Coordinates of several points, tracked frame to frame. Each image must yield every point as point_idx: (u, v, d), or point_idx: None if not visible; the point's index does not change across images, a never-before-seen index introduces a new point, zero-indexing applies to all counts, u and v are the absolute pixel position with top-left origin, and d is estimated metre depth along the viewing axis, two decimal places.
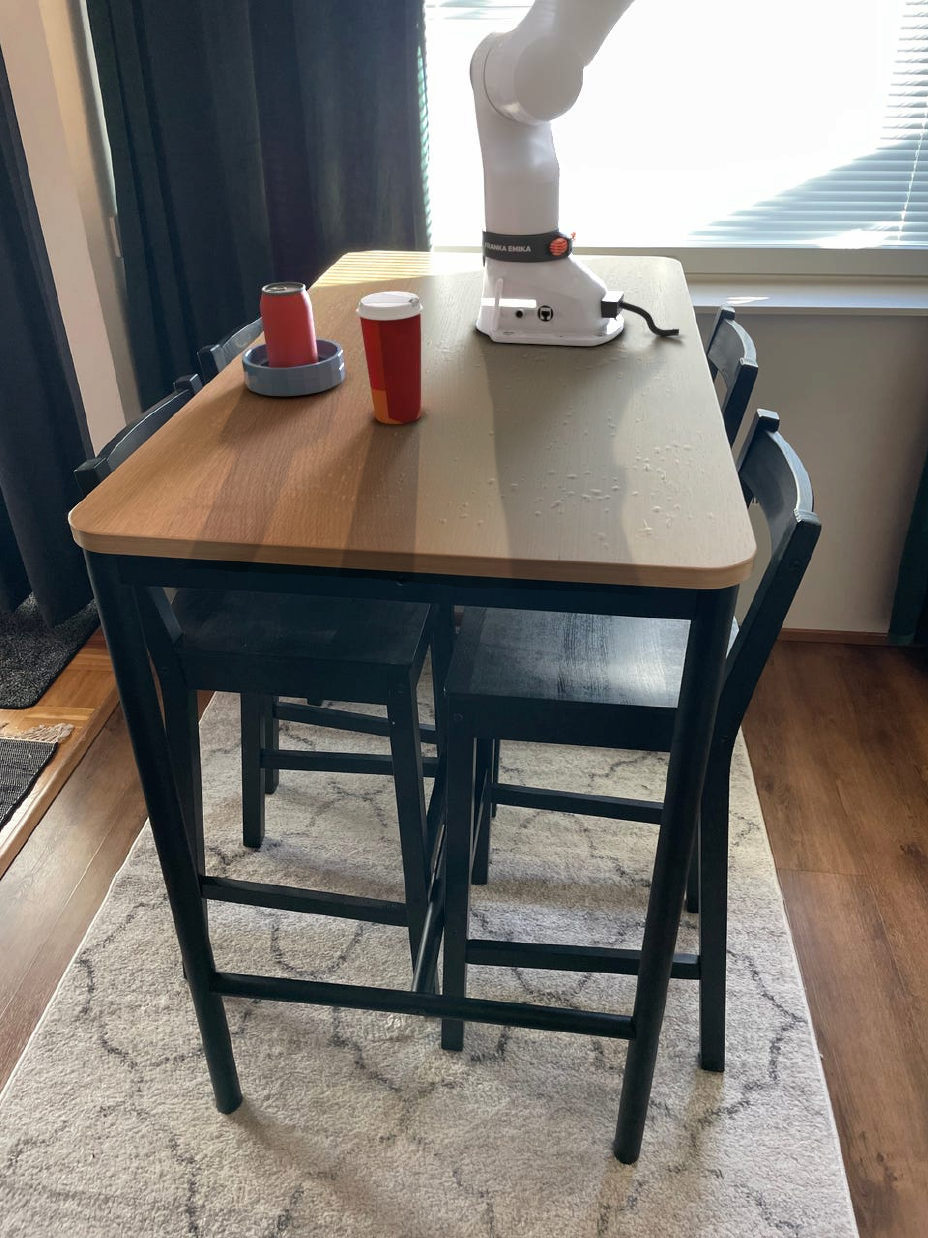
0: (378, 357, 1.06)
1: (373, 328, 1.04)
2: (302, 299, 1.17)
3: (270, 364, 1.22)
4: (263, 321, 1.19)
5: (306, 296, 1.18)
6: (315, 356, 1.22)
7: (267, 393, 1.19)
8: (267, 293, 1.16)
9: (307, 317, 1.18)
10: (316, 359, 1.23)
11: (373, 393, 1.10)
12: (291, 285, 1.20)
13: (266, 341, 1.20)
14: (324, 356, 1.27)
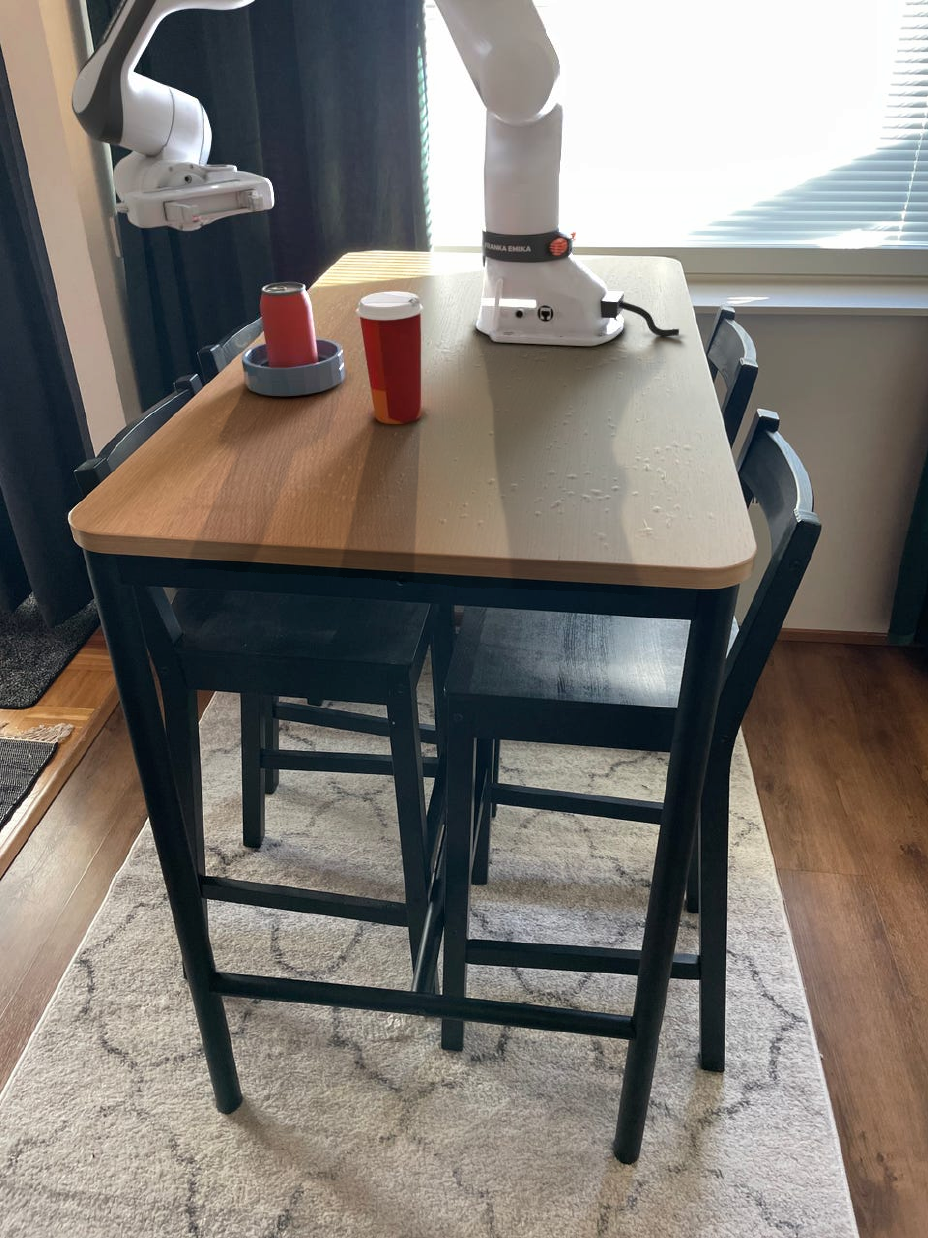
0: (378, 357, 1.06)
1: (373, 328, 1.04)
2: (302, 299, 1.17)
3: (270, 364, 1.22)
4: (263, 321, 1.19)
5: (306, 296, 1.18)
6: (315, 356, 1.22)
7: (267, 393, 1.19)
8: (267, 293, 1.16)
9: (307, 317, 1.18)
10: (316, 359, 1.23)
11: (373, 393, 1.10)
12: (291, 285, 1.20)
13: (266, 341, 1.20)
14: (324, 356, 1.27)
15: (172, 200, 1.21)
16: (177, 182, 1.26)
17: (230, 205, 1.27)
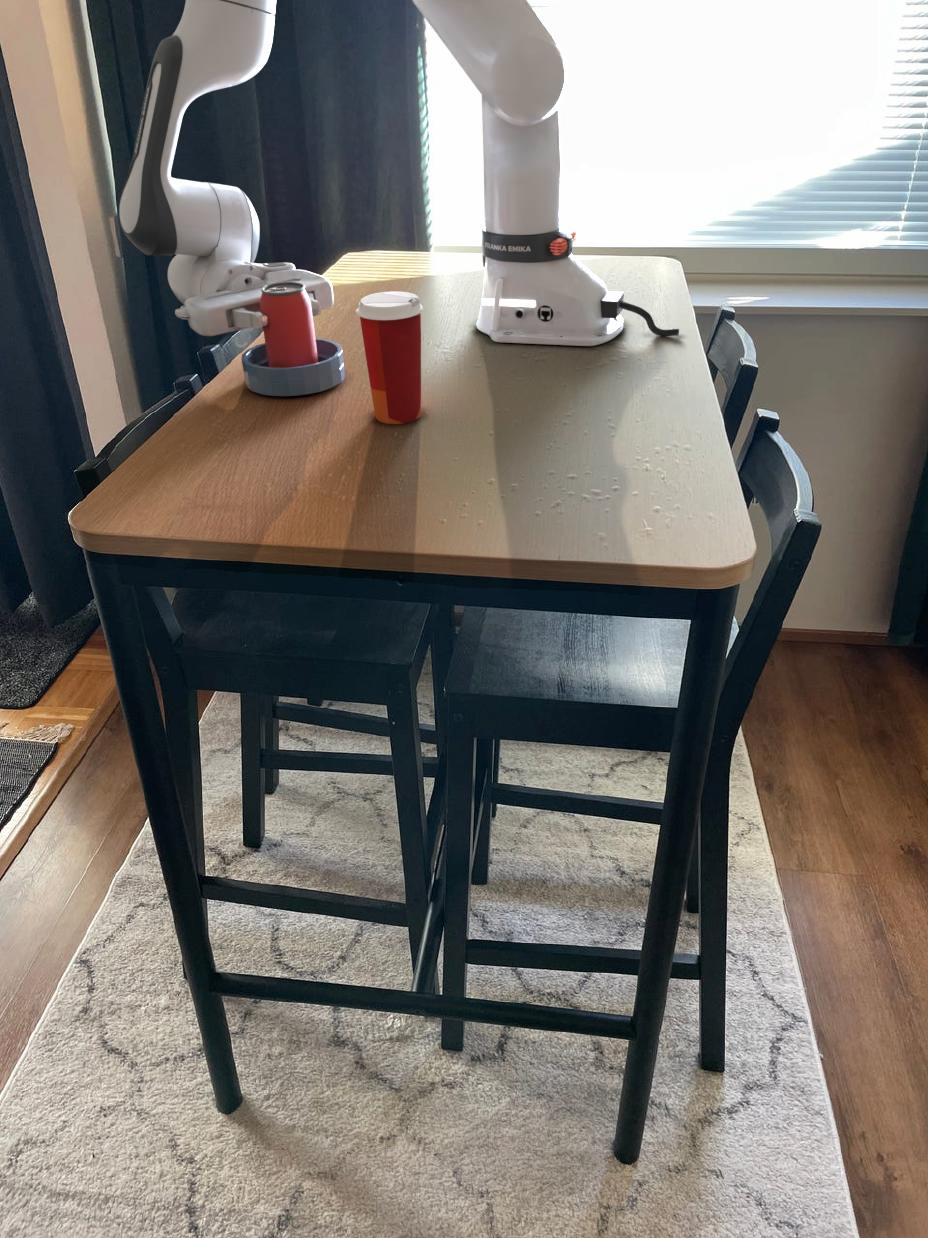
0: (378, 357, 1.06)
1: (373, 328, 1.04)
2: (302, 299, 1.17)
3: (270, 364, 1.22)
4: None
5: (306, 296, 1.18)
6: (315, 356, 1.22)
7: (267, 393, 1.19)
8: (267, 293, 1.16)
9: (307, 317, 1.18)
10: (316, 359, 1.23)
11: (373, 393, 1.10)
12: (291, 285, 1.20)
13: (266, 341, 1.20)
14: (324, 356, 1.27)
15: (240, 306, 1.19)
16: (237, 286, 1.24)
17: None
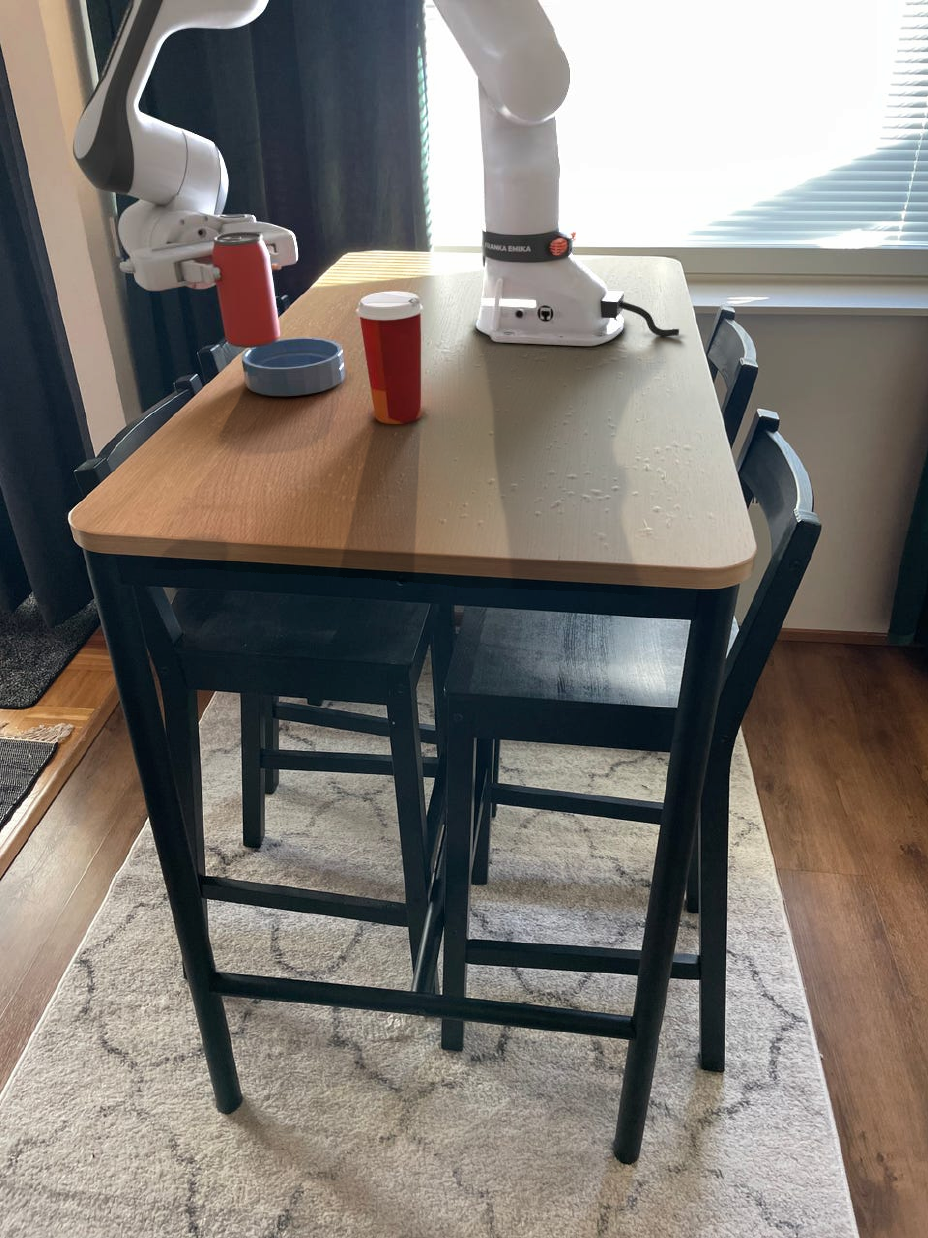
0: (378, 357, 1.06)
1: (373, 328, 1.04)
2: (258, 250, 1.05)
3: (224, 324, 1.10)
4: None
5: (263, 247, 1.06)
6: (274, 315, 1.10)
7: (267, 393, 1.19)
8: (219, 242, 1.04)
9: (264, 270, 1.06)
10: (276, 319, 1.11)
11: (373, 393, 1.10)
12: (247, 235, 1.08)
13: (219, 297, 1.08)
14: (324, 356, 1.27)
15: (190, 258, 1.07)
16: (190, 237, 1.12)
17: None
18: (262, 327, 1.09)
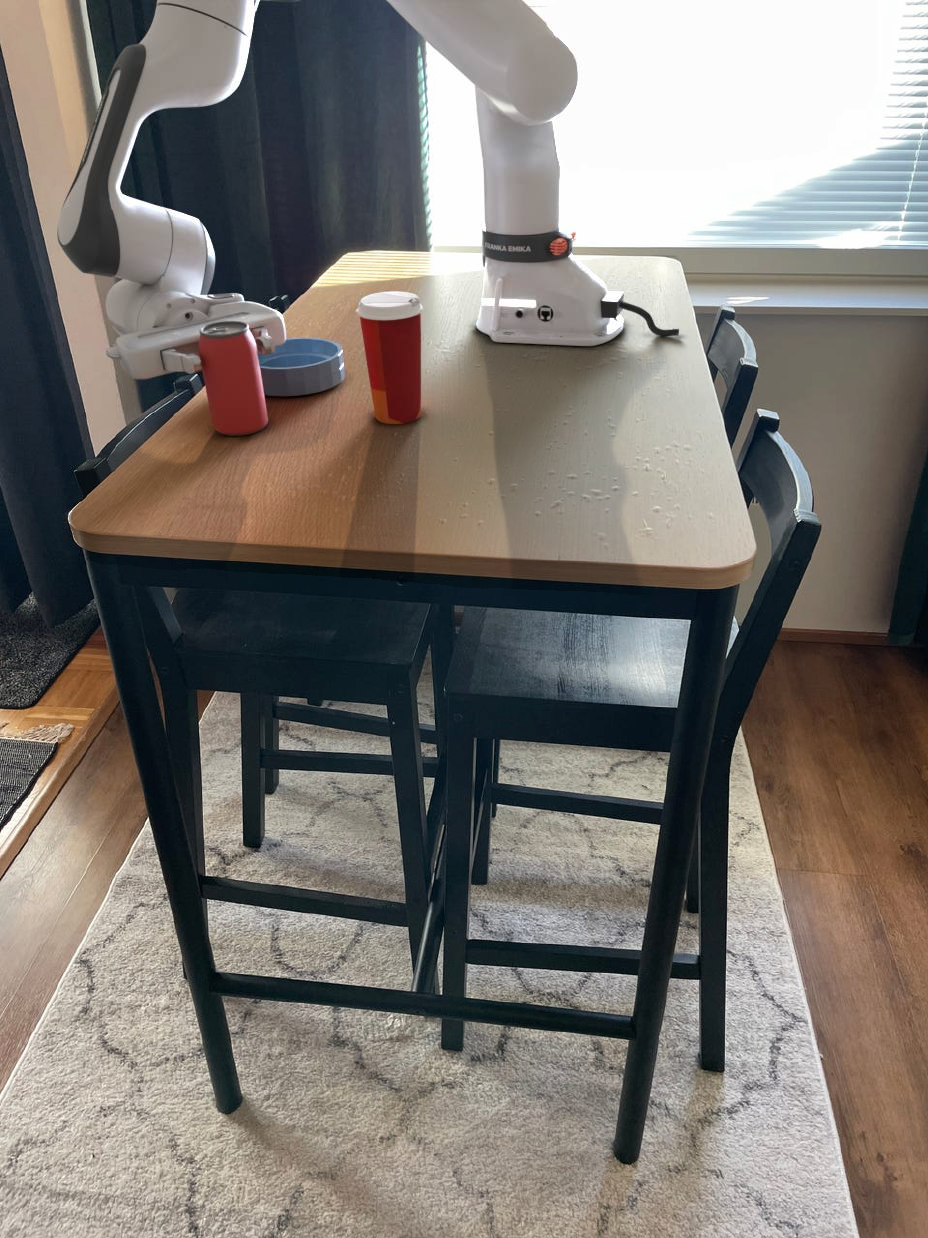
0: (378, 357, 1.06)
1: (373, 328, 1.04)
2: (245, 342, 1.04)
3: (211, 412, 1.09)
4: (202, 365, 1.06)
5: (250, 337, 1.05)
6: (262, 403, 1.09)
7: (267, 393, 1.19)
8: (205, 335, 1.03)
9: (251, 361, 1.06)
10: (263, 406, 1.10)
11: (373, 393, 1.10)
12: (234, 324, 1.07)
13: (206, 387, 1.07)
14: (324, 356, 1.27)
15: (170, 347, 1.06)
16: (177, 321, 1.11)
17: None
18: (249, 416, 1.08)
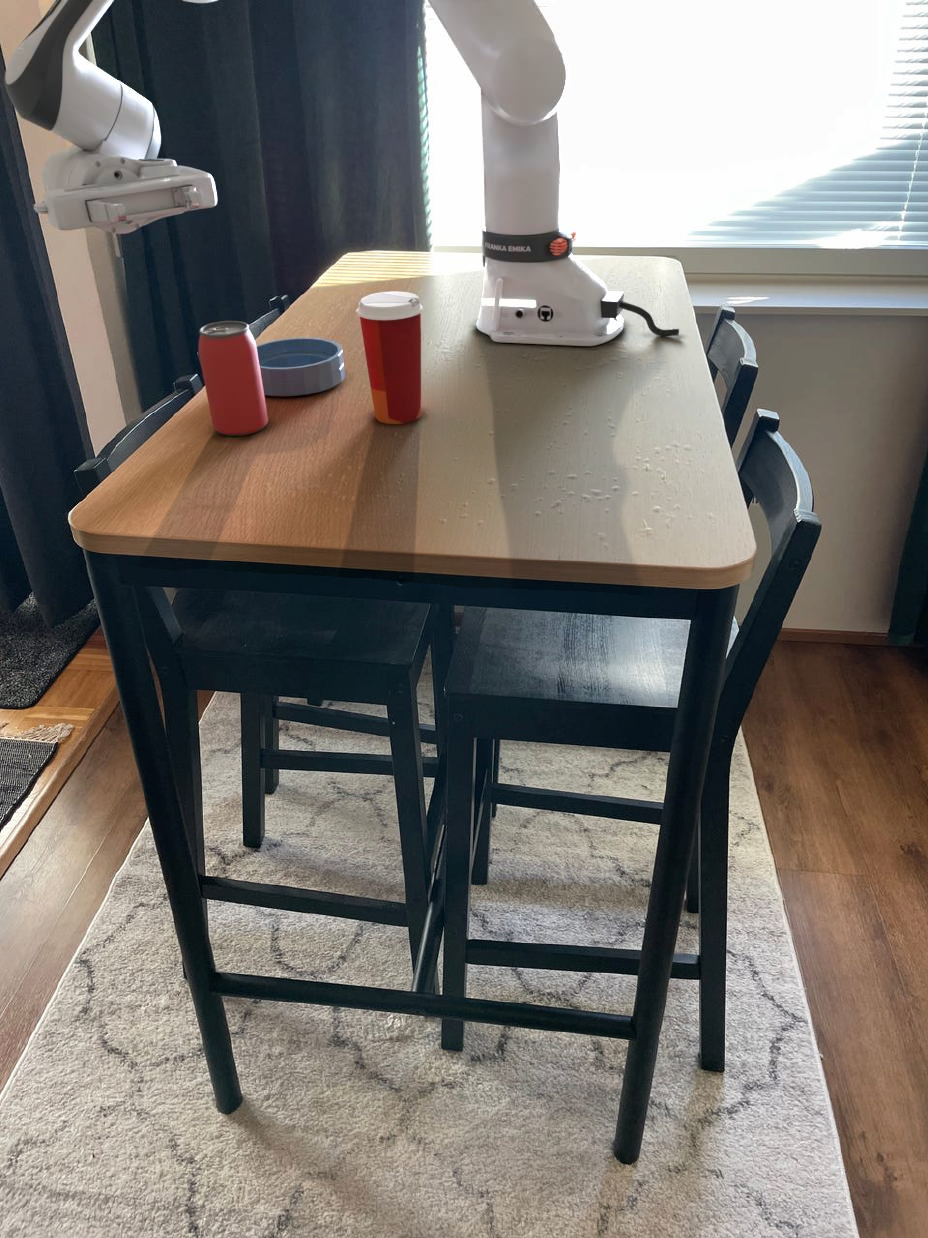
0: (378, 357, 1.06)
1: (373, 328, 1.04)
2: (245, 342, 1.04)
3: (211, 412, 1.09)
4: (202, 365, 1.06)
5: (250, 337, 1.05)
6: (262, 403, 1.09)
7: (267, 393, 1.19)
8: (205, 335, 1.03)
9: (251, 361, 1.06)
10: (263, 406, 1.10)
11: (373, 393, 1.10)
12: (234, 324, 1.07)
13: (206, 387, 1.07)
14: (324, 356, 1.27)
15: (96, 198, 1.06)
16: (105, 179, 1.11)
17: (165, 203, 1.12)
18: (249, 416, 1.08)
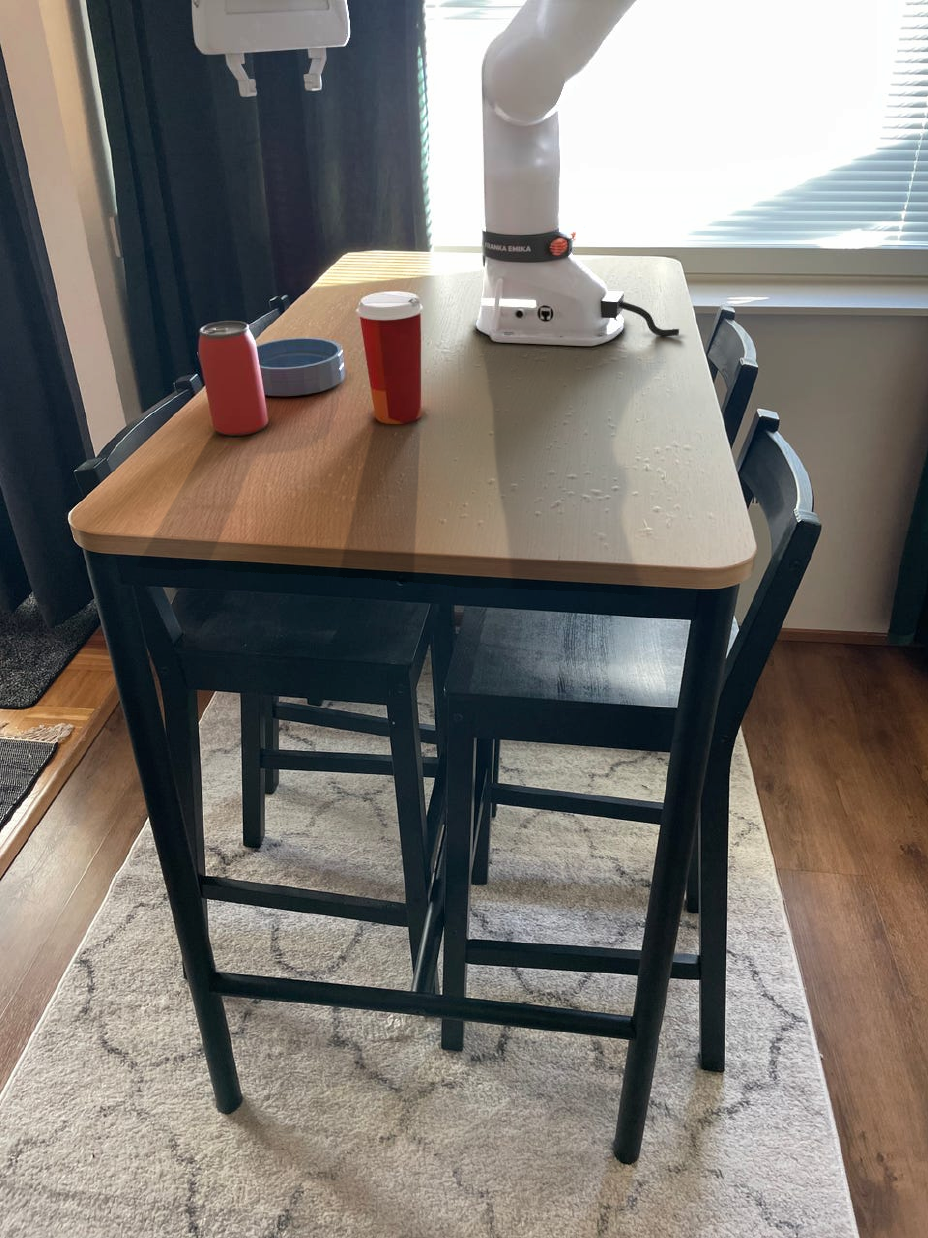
0: (378, 357, 1.06)
1: (373, 328, 1.04)
2: (245, 342, 1.04)
3: (211, 412, 1.09)
4: (202, 365, 1.06)
5: (250, 337, 1.05)
6: (262, 403, 1.09)
7: (267, 393, 1.19)
8: (205, 335, 1.03)
9: (251, 361, 1.06)
10: (263, 406, 1.10)
11: (373, 393, 1.10)
12: (234, 324, 1.07)
13: (206, 387, 1.07)
14: (324, 356, 1.27)
15: None
16: None
17: None
18: (249, 416, 1.08)
